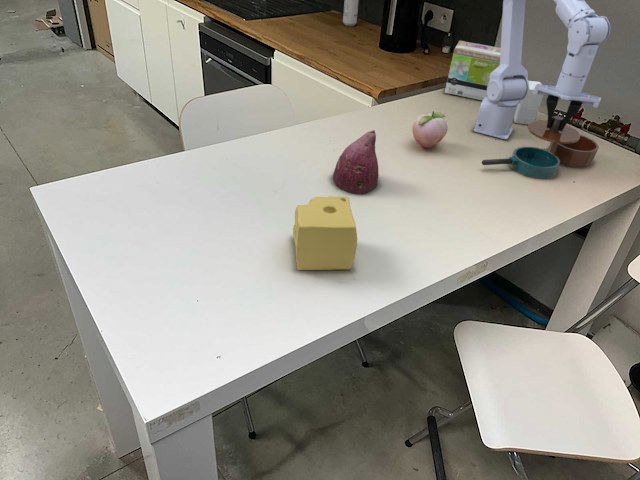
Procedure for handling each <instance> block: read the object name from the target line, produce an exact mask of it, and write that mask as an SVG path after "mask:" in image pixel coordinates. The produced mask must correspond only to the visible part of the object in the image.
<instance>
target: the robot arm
mask: <svg viewBox="0 0 640 480" xmlns="http://www.w3.org/2000/svg"><path fill="white" fill-rule="evenodd" d="M526 1H527V0H503V1H502V15H501V16H502V18H501V34H500V48H501V50H500V65H499V66H498V67H497V68H496V69H495V70H494V71H493V72H491V73H490V80H489V83H488V86H487V95H488V98H487V97H485V98H484V99H483V101H482V100H481V104H480V106H479V110H478V114H477V118H476V121H475V125H474V129H473V132H475V133H478V134H481V135H482V134H483V135H485V136H489V137H494V138H497V139H501V140H506V141H507V140H509V138H510V136H511V134H512V133H513V130H514V128H513V127H512V125H513V122H514V115H515V112H516V109H517V105H518V104H520V103H521V100H523V99H524V98H526V96H527V95H528V92H529V82H528V81H529V77H528V75H529V71H528V70H527V69H526V68H525V67H524V66H523V65H522V57H523V56H522V55H523V44H524V28H525V15H526ZM552 1H553V2H554V4H555V14H556V15H557V16H558V18H559V19H560V21H561V22H562V23H563V25H564V26H565V27H566V29H567V40H568V43H567V45H566V50H567V52H566V55H565V59H564V62H563V65H562V67H561V70H560V74H559V75H558V79H557V82H556V85H550V84H549V85H547V84H542V83H541V84H542V85H541V84H536V86H535V88H534V91H533V94H536V95H537V94H540V95H543V96H545V97H546V100H545V101H546V104H545V105H546V109H547V120H548V122H547V127H546V128H550V125H551V122H552V119H553V117H554V116H555V111H556V108H557V105H558V103H559V100H563V101H568V102H570V103H569V104H568V108H567V111H566V114H565V116H564V117H563V119H564V120H563V122H562V125H561V127H560V130H559V131H563V129H564V127H565V125H568V123H569V121H570V120H571V119H572V118H573V117H574V116H575V115H576V114H577V113H578V112H579V111H580V110H581V108H582V105H586V106H591V107H592V108H595V109H598V108H599V105H600V102H601V101H602V97H601V96H596V95H593V94H590V93H587V92H584V91H583V89H584V86H585V83H586V81H587V78H588V77H589V76H588V75H589V73H590V70H591V68H592V64H593V62H594V59H595V57H596V55H597V52H598V49H599V46H600V45H602V44H604V43H606V41H607V40H608V39H609V36H610V34H611V23H610V21H609V19H608V17H607V16H604V15H598V14H596V11H595V10H594V9H592V8H591V7H590V5H589V4H588V3H587V2H586V1H585V0H552Z"/></svg>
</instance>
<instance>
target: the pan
mask: <svg viewBox="0 0 640 480" xmlns="http://www.w3.org/2000/svg"><path fill="white" fill-rule="evenodd" d="M511 157H515V158H516V159H517V160H518V163H517V165H512V164H510V167H511V168H512V170H514V171H515V172H517V173H518V174H521V175H523V176H525V177H527V178H528V177H529V178H533V179H538V180H539V179H541V180H544V179H545V180H546V179H552V178H554V177H555V176H556V174H557V172H558V171H559V170H558V169H559V167H560V165H561V164H560V160H559V158H558V157H557V156H556V155H555V154H553V153H551V152H549V151H548V149H547V150H546V149H544V148H539V147H535V146H520V147H517V148H515V149H513V152H512V156H511Z"/></svg>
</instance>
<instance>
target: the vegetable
mask: <svg viewBox="0 0 640 480" xmlns="http://www.w3.org/2000/svg"><path fill="white" fill-rule="evenodd" d="M376 140H377V133H376V130H375V129H372V130H368V131H366V132H365V133H364V134H363V135H362V136H361V137H359V138H358V139H356V140H354V141H353V142H351V143H350V144H349V145H348V146H346V148H345V149H344V150H343V151H342V153H341V155H340V156H339V157H338V160H337V162H336V164H335V168H334V170H333V174H332V181H333V182H334V184H335V186H336V187H338V189H341V190H343V191H345V192H348V193H350V194H356V195H363V194H367V193H369V192H371V191H373V190H375V189H376V188H377V186H378V185H379V184H378V182H379V161H378V158H377V153H376V142H377V141H376Z"/></svg>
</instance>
